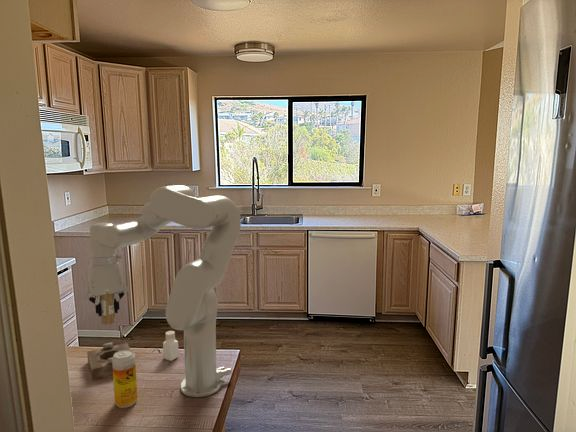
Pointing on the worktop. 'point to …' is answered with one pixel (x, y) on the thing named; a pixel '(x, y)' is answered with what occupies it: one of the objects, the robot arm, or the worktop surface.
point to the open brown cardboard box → (103, 360)
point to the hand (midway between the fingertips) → (107, 313)
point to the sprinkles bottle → (107, 309)
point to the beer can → (124, 378)
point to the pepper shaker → (170, 346)
